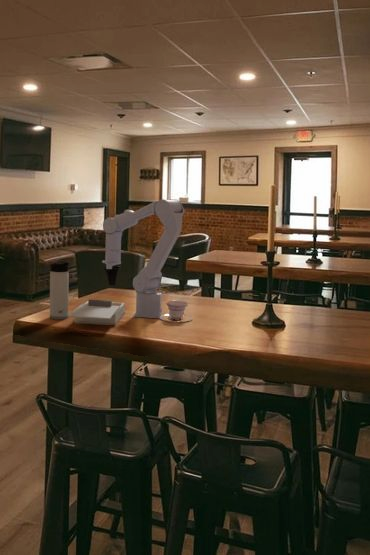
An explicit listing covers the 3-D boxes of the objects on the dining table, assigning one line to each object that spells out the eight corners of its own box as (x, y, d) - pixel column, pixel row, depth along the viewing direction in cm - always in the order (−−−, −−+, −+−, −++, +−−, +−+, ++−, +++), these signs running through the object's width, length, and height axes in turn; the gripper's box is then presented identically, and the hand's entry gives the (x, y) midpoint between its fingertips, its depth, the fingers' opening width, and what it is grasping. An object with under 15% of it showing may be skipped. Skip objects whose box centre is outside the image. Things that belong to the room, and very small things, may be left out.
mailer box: (124, 313, 198) (124, 303, 197) (115, 325, 180) (115, 313, 179) (87, 311, 198) (87, 300, 198) (74, 323, 181) (74, 311, 180)
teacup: (188, 324, 186) (189, 307, 185) (155, 321, 189) (156, 304, 188) (195, 317, 198) (195, 301, 197) (164, 314, 200) (164, 298, 199)
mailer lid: (120, 307, 188) (120, 300, 188) (109, 319, 170) (109, 312, 170) (81, 305, 189) (81, 298, 188) (67, 317, 171) (67, 309, 170)
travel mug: (64, 320, 183) (65, 263, 180) (46, 318, 185) (47, 261, 181) (71, 316, 189) (72, 261, 186) (54, 314, 191) (55, 259, 187)
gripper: (106, 247, 207) (105, 281, 210) (98, 251, 193) (97, 287, 195) (124, 248, 207) (123, 282, 209) (117, 252, 193) (116, 288, 195)
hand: (112, 285), depth 202 cm, fingers closed
